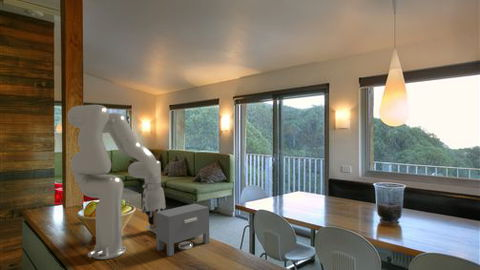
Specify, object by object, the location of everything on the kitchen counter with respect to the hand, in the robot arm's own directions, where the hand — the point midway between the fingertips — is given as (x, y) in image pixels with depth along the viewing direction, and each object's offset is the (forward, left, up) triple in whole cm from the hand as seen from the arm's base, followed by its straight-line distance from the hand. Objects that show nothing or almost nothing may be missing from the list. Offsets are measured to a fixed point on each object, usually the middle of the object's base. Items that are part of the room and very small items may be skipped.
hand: (154, 223), depth 146 cm
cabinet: (-13, -22, -4) cm, 26 cm away
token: (-14, -23, -5) cm, 28 cm away
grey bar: (-4, -6, -3) cm, 8 cm away
